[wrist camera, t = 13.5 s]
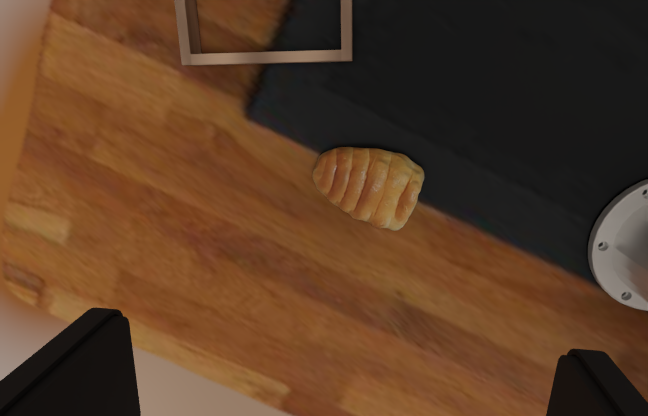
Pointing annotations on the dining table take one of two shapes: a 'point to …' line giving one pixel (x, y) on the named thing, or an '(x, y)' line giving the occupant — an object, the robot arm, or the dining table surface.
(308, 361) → the dining table surface
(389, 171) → the pastry
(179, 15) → the caddy
